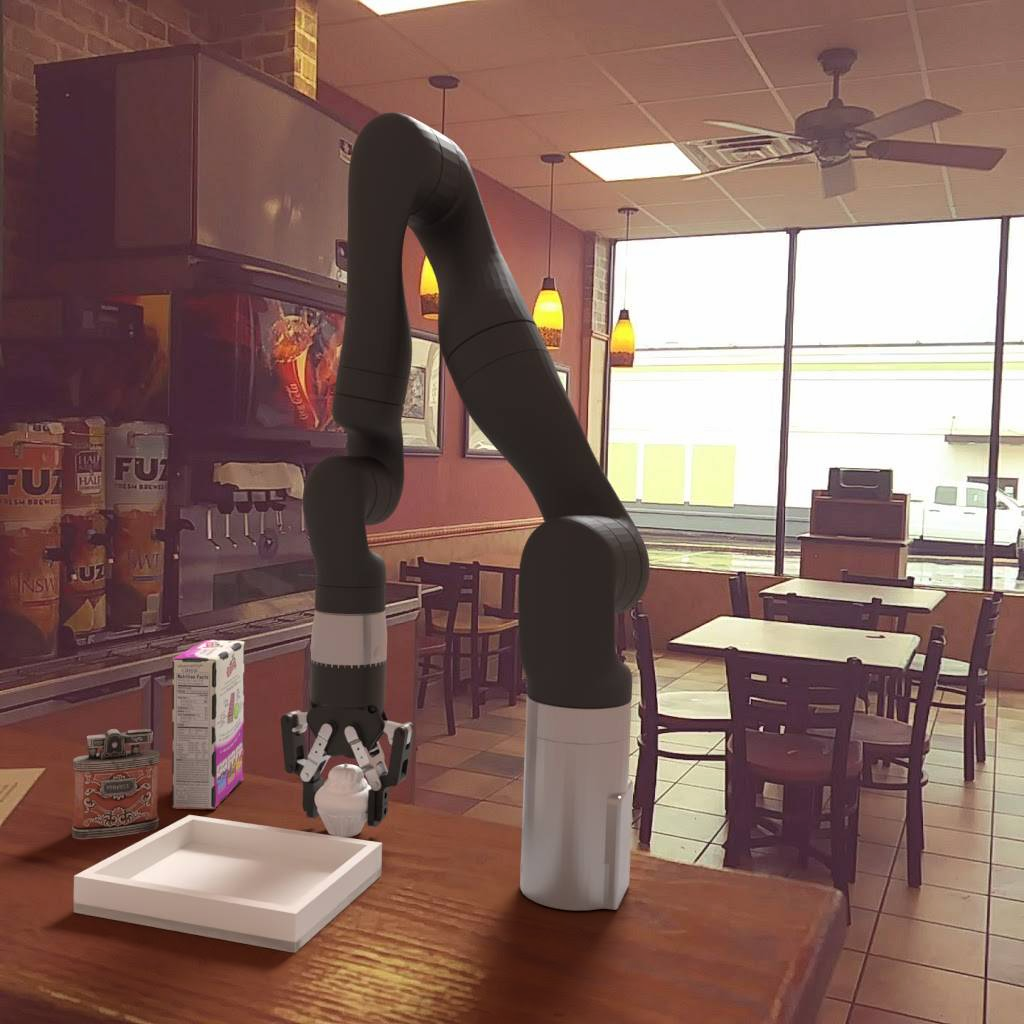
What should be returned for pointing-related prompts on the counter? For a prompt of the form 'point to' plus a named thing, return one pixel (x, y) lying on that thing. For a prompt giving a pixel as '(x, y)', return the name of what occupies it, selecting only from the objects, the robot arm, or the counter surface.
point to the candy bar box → (207, 723)
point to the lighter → (116, 786)
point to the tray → (231, 881)
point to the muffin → (343, 801)
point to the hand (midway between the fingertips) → (344, 819)
